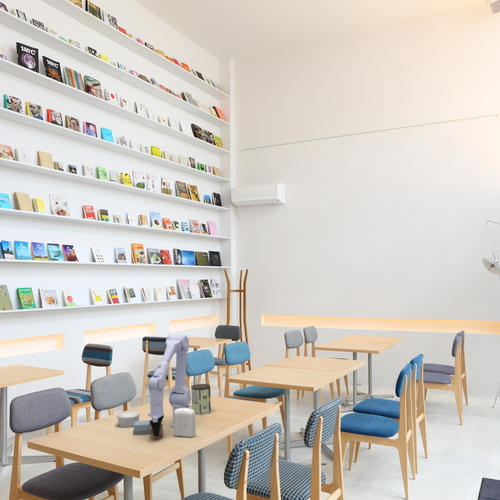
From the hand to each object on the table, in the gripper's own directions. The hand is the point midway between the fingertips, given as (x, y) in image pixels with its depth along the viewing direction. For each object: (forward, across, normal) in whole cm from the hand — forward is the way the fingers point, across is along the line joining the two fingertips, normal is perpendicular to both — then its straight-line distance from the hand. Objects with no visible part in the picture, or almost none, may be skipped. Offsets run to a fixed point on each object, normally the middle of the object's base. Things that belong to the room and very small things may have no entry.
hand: (157, 434), depth 216 cm
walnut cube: (+1, 0, 0) cm, 1 cm away
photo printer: (+2, 0, +12) cm, 13 cm away
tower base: (+2, -9, -8) cm, 12 cm away
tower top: (-1, -8, -8) cm, 11 cm away
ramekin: (+2, -23, -16) cm, 28 cm away
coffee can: (+2, -39, +20) cm, 44 cm away
